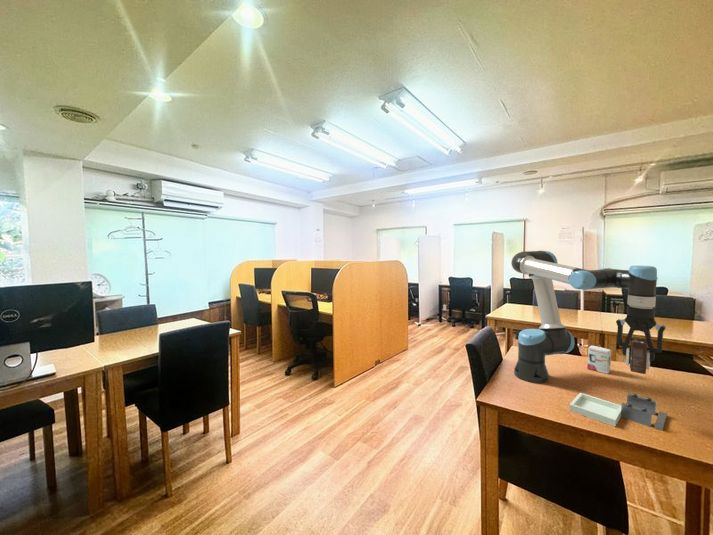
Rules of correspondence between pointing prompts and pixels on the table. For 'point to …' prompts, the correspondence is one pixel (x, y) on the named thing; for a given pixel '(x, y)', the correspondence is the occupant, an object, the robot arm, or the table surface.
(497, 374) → the table surface
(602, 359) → the ink box
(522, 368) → the robot arm
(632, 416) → the hitch bracket
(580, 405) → the tray
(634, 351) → the box
